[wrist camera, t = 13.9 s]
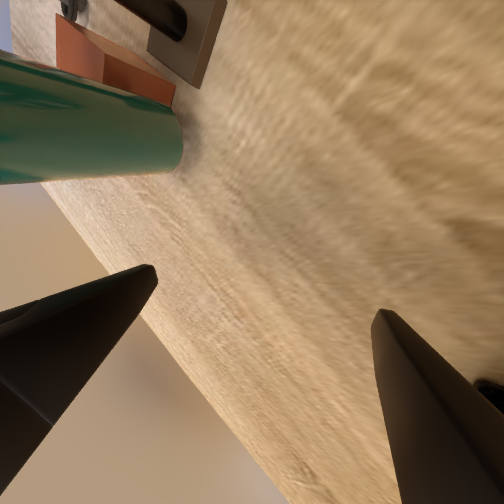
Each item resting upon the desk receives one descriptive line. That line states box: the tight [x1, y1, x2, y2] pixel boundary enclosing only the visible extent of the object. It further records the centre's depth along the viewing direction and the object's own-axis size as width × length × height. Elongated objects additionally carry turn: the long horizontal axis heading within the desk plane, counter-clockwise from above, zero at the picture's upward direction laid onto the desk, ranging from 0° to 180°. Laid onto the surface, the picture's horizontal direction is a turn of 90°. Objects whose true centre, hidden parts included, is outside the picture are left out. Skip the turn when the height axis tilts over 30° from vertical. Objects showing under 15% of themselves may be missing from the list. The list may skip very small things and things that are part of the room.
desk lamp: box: [56, 0, 227, 107], centre depth 14 cm, size 9×15×17 cm, turn 147°
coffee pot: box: [0, 50, 183, 185], centre depth 14 cm, size 10×6×13 cm, turn 57°
